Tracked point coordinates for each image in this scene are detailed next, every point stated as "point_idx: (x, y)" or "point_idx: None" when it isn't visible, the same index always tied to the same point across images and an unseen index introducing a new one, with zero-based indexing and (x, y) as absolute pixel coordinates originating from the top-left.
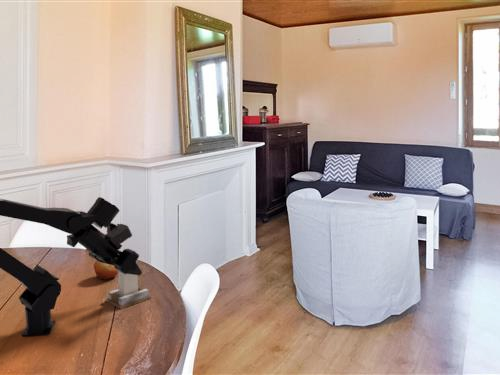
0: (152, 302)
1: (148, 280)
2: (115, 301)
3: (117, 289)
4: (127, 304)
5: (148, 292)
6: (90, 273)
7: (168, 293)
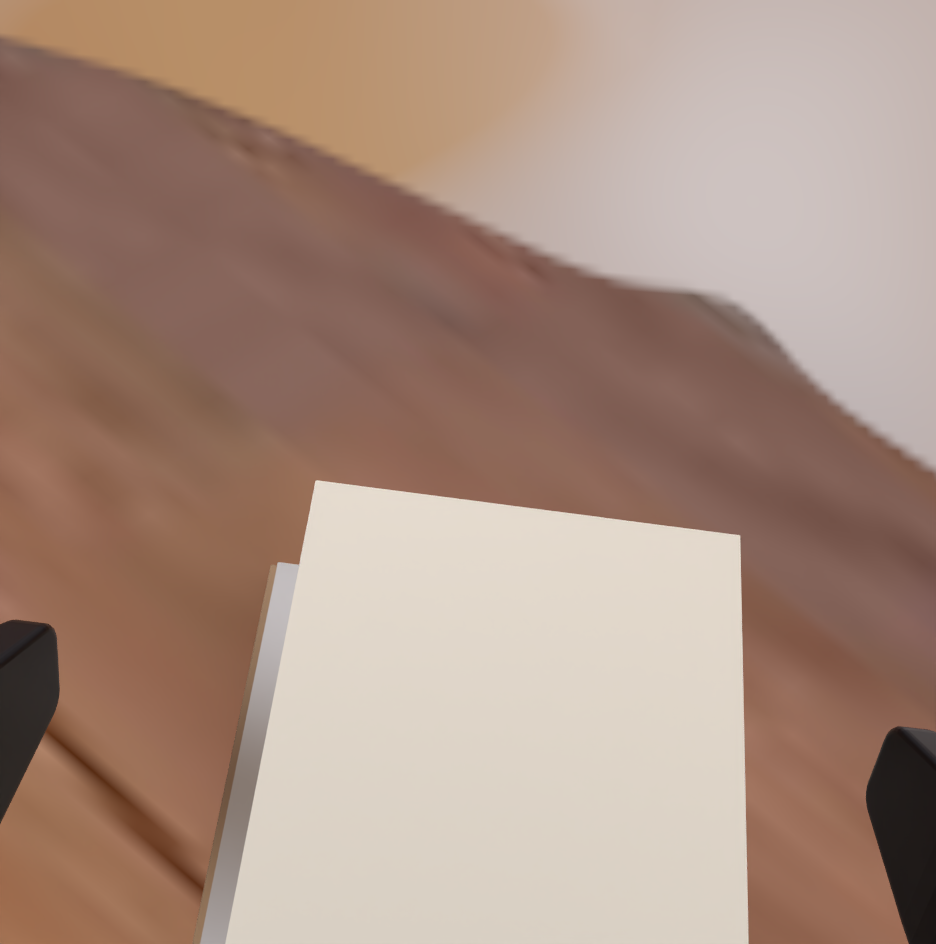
0: (754, 691)
1: (156, 268)
2: None
3: (216, 939)
4: None
5: None
6: None
7: (669, 392)
